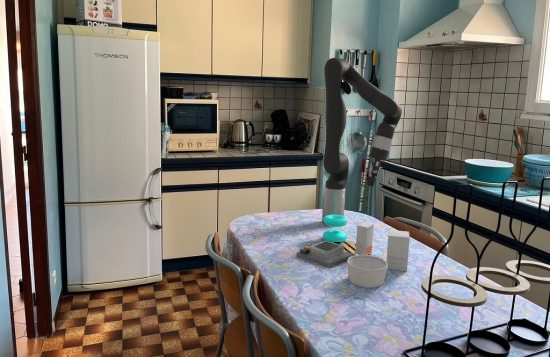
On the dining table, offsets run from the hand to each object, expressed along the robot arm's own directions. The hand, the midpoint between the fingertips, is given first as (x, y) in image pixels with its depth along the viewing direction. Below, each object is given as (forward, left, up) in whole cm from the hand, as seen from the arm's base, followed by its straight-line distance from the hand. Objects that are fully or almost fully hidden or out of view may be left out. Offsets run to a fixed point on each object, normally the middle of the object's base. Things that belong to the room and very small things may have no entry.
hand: (369, 185), depth 194 cm
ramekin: (+24, -39, -23) cm, 51 cm away
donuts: (-8, -12, -23) cm, 27 cm away
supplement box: (+25, -20, -23) cm, 39 cm away
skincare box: (+10, -18, -23) cm, 31 cm away
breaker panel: (+1, -31, -23) cm, 38 cm away
